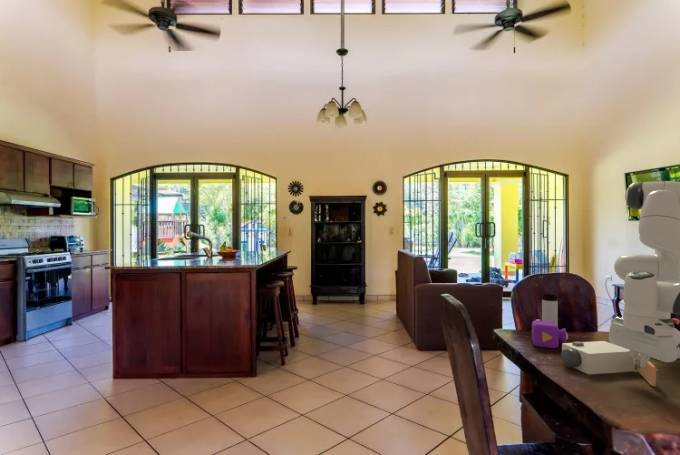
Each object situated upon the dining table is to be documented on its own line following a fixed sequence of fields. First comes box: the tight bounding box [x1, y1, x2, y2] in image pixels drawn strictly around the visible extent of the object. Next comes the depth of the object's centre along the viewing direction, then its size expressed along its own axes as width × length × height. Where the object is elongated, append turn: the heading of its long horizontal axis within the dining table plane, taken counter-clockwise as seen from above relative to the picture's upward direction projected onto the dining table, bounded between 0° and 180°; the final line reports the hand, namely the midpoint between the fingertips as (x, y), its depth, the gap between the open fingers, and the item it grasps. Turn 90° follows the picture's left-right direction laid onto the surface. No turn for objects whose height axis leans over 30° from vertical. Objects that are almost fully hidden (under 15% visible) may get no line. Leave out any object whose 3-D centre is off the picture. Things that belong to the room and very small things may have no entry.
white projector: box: [560, 340, 634, 375], centre depth 137 cm, size 21×12×8 cm, turn 100°
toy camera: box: [531, 319, 569, 349], centre depth 162 cm, size 11×14×10 cm
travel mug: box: [541, 292, 559, 326], centre depth 176 cm, size 6×7×20 cm
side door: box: [633, 353, 659, 387], centre depth 126 cm, size 16×2×6 cm, turn 157°
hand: (639, 366), depth 122 cm, fingers closed
